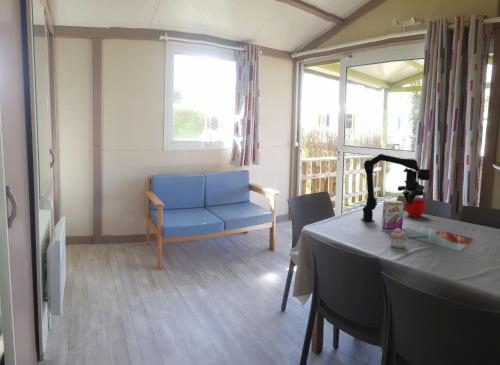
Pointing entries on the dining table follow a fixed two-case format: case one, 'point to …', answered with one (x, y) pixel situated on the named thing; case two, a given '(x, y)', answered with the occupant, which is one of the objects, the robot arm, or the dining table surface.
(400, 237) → the cupcake
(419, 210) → the ceramic cup
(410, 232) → the mat
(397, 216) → the candy bar box
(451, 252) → the dining table surface
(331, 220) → the dining table surface
